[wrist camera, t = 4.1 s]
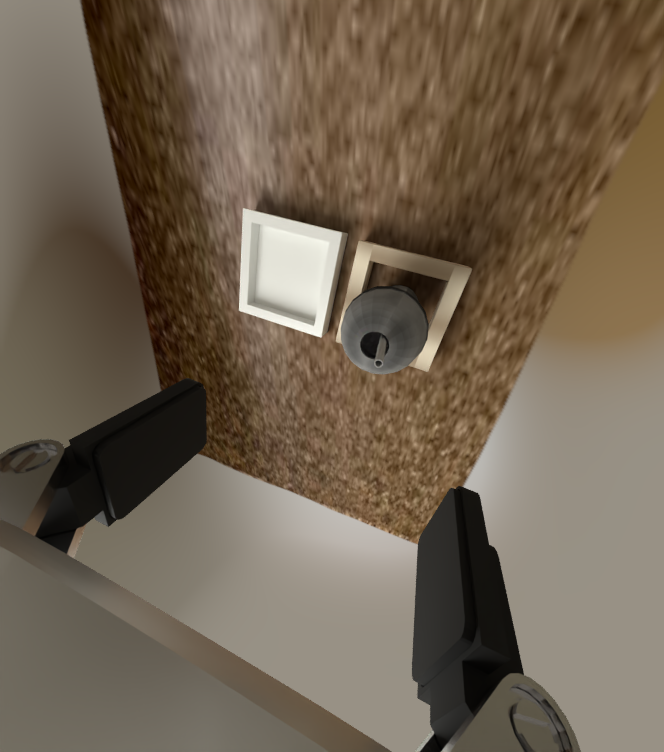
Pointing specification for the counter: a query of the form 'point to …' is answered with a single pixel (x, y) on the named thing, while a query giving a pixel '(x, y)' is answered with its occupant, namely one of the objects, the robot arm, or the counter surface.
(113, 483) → the robot arm
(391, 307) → the beverage cup
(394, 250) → the wood holder
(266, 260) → the white tray
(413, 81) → the counter surface
